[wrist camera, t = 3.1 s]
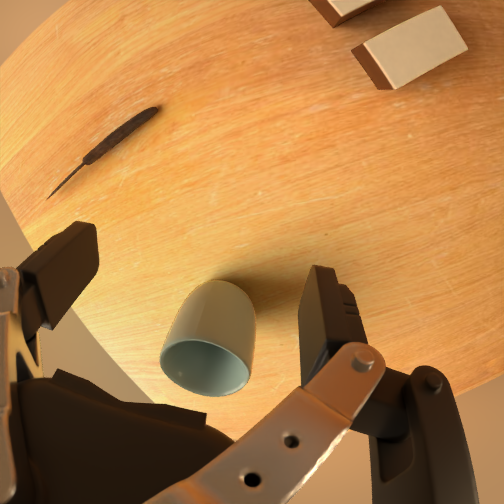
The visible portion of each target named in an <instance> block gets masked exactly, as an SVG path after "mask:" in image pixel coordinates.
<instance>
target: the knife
mask: <svg viewBox="0 0 504 504" xmlns="http://www.w3.org/2000/svg"><path fill="white" fill-rule="evenodd" d="M157 110H158V109H157V108H156V107H151V108H148V109H146V110H144V111H142V112H141V113H139V114H137V115H136V116H134V117H133V118H131V119H130V120H129V121H127V122H126V123H124V124H123V125H122V126H120V127H119V128H117V129H116V130H115V131H114V132H112V133H111V134H110V135H109V136H107V137H106V138H105V139H104V140H103V141H102V142H101V143H99V144H98V145H97V146H96V147H95V148H94V149H92V150H91V151H90V152H89V153H88V154H87V155H86V156H85V157H84V158H83V163H82V164H81V165H80V166H78V167H77V168H76V169H75V170H74V171H73V172H72V173H71V174H70V175H69V176H68V177H67V178H66V179H65V180H64V181H63V182H62V183H61V184H60V185H59V186H58V187H57V188H56V189H55V190H54V191H53V192H52V194H51V195H50V196H49V197H48V198H50V197H51V196H52V195H53V194H54V193H55V192H56V191H57V190H58V189H59V188H60V187H61V186H63V185H64V184H65V183H66V182H67V181H68V180H69V179H70V178H71V177H72V176H73V175H74V174H75V173H76V172H77V171H78V170H79V169H81V168H82V167H83V166H84V165H90V164H92V163H93V162H95V161H96V160H97V159H99V158H100V157H101V156H102V155H103V154H105V153H106V152H107V151H108V150H110V149H111V148H113V147H114V146H115V145H116V144H118V143H119V142H120V141H122V140H123V139H124V138H125V137H127V136H128V135H129V134H130V133H132V132H133V131H134V130H135V129H137V128H138V127H139V126H140V125H142V124H143V123H144V122H146V121H147V120H148V119H150V118H151V117H152V116H153V115H154V114H155V113H156V112H157ZM48 198H47V199H48ZM47 199H46V200H47Z"/></svg>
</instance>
